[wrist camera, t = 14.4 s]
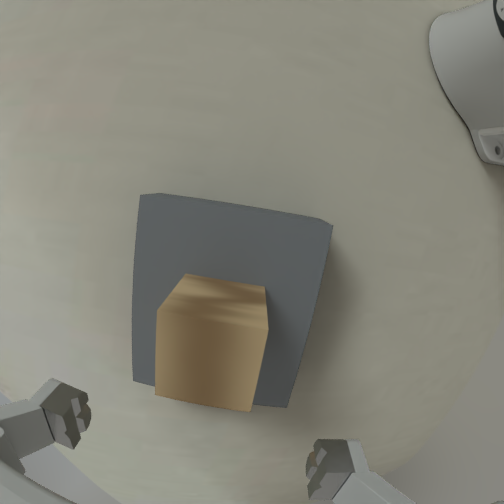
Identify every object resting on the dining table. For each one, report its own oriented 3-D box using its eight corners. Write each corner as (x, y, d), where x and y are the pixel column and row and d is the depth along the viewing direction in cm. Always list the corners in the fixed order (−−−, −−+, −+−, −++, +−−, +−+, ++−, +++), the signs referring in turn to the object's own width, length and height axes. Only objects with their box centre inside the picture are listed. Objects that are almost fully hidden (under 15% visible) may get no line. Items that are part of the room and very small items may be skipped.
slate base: (319, 218, 22) (333, 225, 18) (282, 379, 25) (286, 407, 21) (159, 193, 22) (140, 194, 18) (148, 355, 25) (133, 380, 21)
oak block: (264, 286, 19) (268, 329, 13) (251, 354, 20) (250, 412, 14) (185, 273, 19) (157, 310, 13) (179, 342, 20) (155, 394, 14)
